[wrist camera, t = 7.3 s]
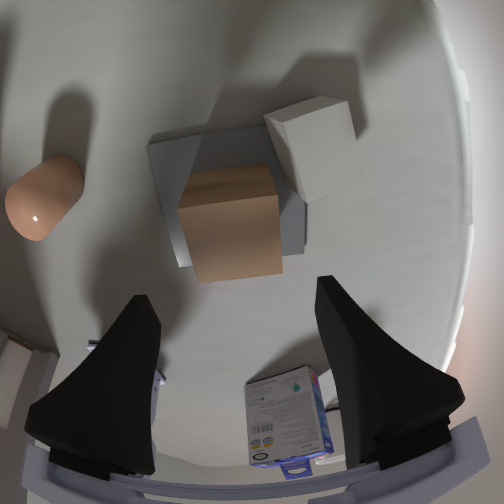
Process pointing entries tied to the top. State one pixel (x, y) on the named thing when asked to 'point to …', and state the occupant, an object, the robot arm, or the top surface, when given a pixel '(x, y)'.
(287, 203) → the slate coaster
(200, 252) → the walnut block
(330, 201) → the top surface
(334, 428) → the mug
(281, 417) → the ink cartridge box
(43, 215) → the peach egg shape
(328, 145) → the grey plastic box
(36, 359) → the cabinet
